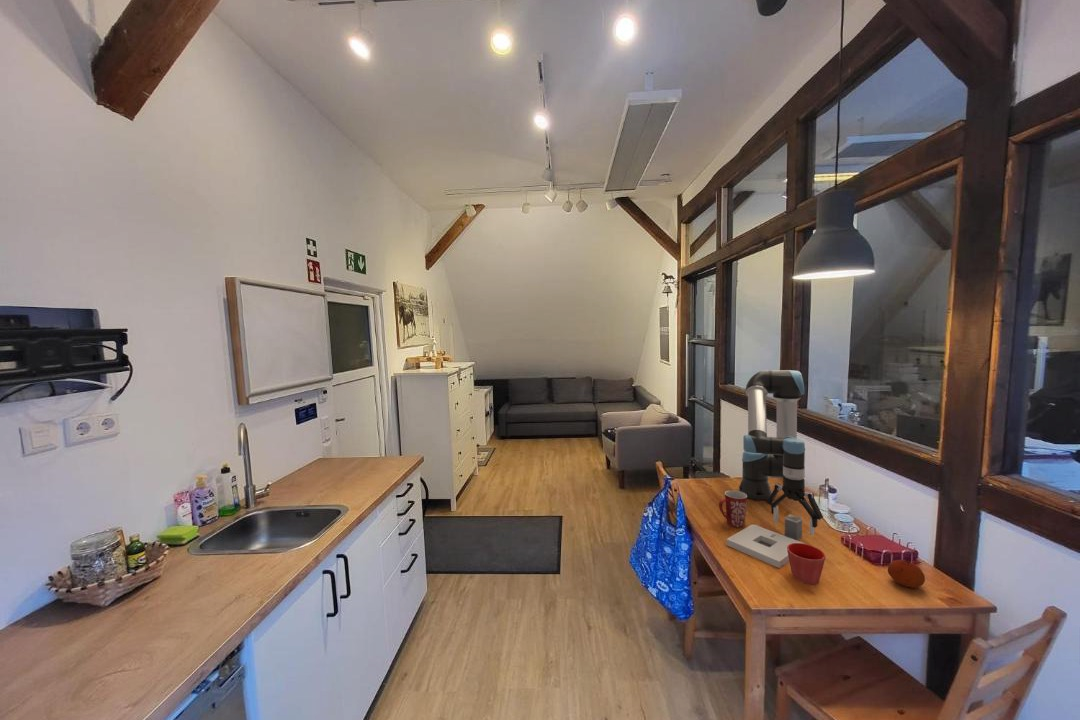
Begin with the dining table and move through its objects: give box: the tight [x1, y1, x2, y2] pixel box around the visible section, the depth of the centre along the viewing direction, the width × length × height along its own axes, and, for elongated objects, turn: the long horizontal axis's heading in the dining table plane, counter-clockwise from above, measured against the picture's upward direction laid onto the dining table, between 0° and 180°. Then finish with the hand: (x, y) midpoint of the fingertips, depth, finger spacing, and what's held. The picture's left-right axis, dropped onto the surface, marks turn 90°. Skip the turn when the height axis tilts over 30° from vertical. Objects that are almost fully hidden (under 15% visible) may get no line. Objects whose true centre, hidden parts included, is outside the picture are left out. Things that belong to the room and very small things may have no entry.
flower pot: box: [787, 542, 826, 586], centre depth 137 cm, size 11×11×10 cm
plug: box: [784, 513, 803, 541], centre depth 164 cm, size 5×5×8 cm
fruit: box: [887, 559, 926, 589], centre depth 132 cm, size 9×9×8 cm
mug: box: [718, 489, 748, 528], centre depth 176 cm, size 13×9×14 cm
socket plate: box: [726, 523, 806, 569], centre depth 157 cm, size 20×20×3 cm
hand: (793, 528), depth 164 cm, fingers open, 13 cm apart
